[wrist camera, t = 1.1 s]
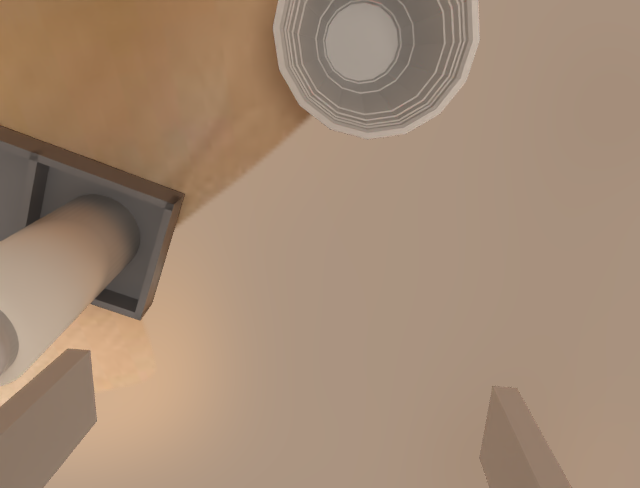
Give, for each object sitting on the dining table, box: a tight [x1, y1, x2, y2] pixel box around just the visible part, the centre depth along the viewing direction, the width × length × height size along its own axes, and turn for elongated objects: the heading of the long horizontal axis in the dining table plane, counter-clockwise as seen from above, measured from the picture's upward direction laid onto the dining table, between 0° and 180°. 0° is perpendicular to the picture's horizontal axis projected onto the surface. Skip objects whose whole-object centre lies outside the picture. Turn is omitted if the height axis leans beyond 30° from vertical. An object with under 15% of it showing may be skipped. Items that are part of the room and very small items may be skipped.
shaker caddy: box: [0, 126, 185, 320], centre depth 40 cm, size 11×22×3 cm, turn 69°
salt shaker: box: [0, 194, 140, 386], centre depth 33 cm, size 7×7×18 cm
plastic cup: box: [273, 0, 480, 139], centre depth 31 cm, size 11×11×12 cm
